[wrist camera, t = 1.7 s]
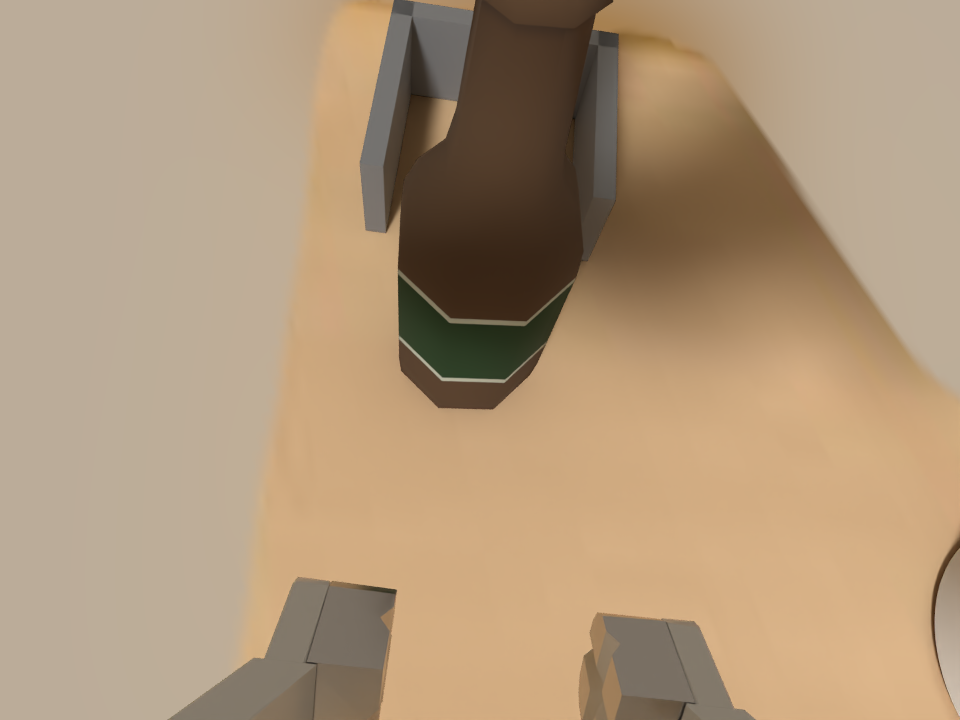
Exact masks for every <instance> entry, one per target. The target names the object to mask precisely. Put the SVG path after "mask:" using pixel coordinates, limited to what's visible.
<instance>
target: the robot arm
mask: <svg viewBox="0 0 960 720" xmlns="http://www.w3.org/2000/svg"><path fill="white" fill-rule="evenodd" d="M396 593H397V590H395V589H388V588H380V587H373V586H366V585H358V584H351V583H344V582H336V581H332V582H330V581H325V580H317V579H310V578H302V577H298V578H297V579H296V580H295V581H294V583H293V584H292V587H291V590H290V592H289V595H288V597H287V600H286V603H285V605H284V608H283V611H282V613H281V616H280V618H279V621H278V624H277V626H276V629H275V632H274V634H273V637H272V639H271V642H270V645H269V647H268V650H267V653H266V655H265V658H264V659H260V658H253V659H252V660H250V661H249V662H247V663H246V664H245V665H243V666H242V667H240V668H239V669H238V670H236V671H235V672H233V673H232V674H231V675H229V676H228V677H227V678H225V679H224V680H222V681H221V682H220V683H218V684H217V685H215V686H214V687H213V688H211V689H210V690H209V691H207V692H206V693H204V694H203V695H202V696H200V697H199V698H197V699H196V700H195V701H193V702H192V703H190V704H189V705H188V706H186V707H185V708H184V709H182V710H181V711H179V712H178V713H177V714H175V715H174V716H172V717H171V718H170V719H168V720H379V718H380V710H381V703H382V701H383V694H384V687H385V680H386V673H387V667H388V659H389V652H390V644H391V637H392V635H391V632H392V625H393V619H394V612H395V602H396ZM590 637H591V642H592V647H593V649H592V650H590V651H589V652H588V653H587V654H586V655H584V657H583V662H582V666H581V671H580V679H579V708H580V715H581V720H755V719H754V718H753V717H752V716H751V715H750V714H748V713H747V712H746V711H745V710H742V709H734V706H733V704H732V702H731V699H730V697H729V695H728V692H727V690H726V688H725V686H724V683H723V681H722V679H721V676H720V674H719V672H718V669H717V667H716V665H715V662H714V660H713V658H712V655H711V653H710V651H709V648H708V646H707V644H706V641H705V639H704V637H703V634H702V632H701V630H700V627H699V626H698V625H697V624H696V623H695V622H694V621H684V620H673V619H661V620H660V619H655V618H645V617H636V616H626V615H617V614H607V613H598V612H597V614H596V616H595V617H594V619H593V622H592V626H591V630H590ZM935 639H936V647H937V653H938V658H939V663H940V667H941V671H942V675H943V678H944V681H945V684H946V687H947V690H948V692H949V695H950V697H951V700H952V702H953V704H954V707H955V709H956V711H957V713H958V715H959V717H960V548H959V549H958V551H957V552H956V553H955V554H954V556H953V557H952V559H951V560H950V562H949V564H948V566H947V568H946V570H945V572H944V574H943V577H942V579H941V583H940V586H939V590H938V594H937V600H936V607H935Z"/></svg>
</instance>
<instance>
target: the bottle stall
mask: <svg viewBox="0 0 960 720" xmlns="http://www.w3.org/2000/svg"><path fill="white" fill-rule="evenodd" d="M473 12H474V11H470V10H464V9H458V8H451V7H445V6H439V5H432V4H426V3H420V2H413V1H407V0H394V3H393V8H392V13H391V17H390V22H389V27H388V32H387V36H386V41H385V46H384V51H383V55H382V60H381V65H380V70H379V74H378V79H377V84H376V89H375V93H374V98H373V103H372V108H371V112H370V117H369V122H368V127H367V131H366V136H365V141H364V146H363V150H362V155H361V160H360V172H361V183H362V194H363V206H364V217H365V228H366V230H367V231H375V232H382V233H386V230H387V224H388V219H389V213H390V208H391V202H392V197H393V191H394V185H395V180H396V174H397V169H398V163H399V158H400V152H401V147H402V141H403V136H404V130H405V125H406V119H407V114H408V108H409V103H410V97H411V94H413V95H420V96H426V97H433V98H440V99H446V100H453V101H458V96H459V91H460V85H461V79H462V74H463V68H464V62H465V57H466V51H467V46H468V40H469V34H470V29H471V23H472V18H473ZM618 36H619V34H616V33H610V32H604V31H597V30H592V33H591V38H590V42H589V46H588V51H587V55H586V60H585V64H584V69H583V73H582V77H581V82H580V86H579V91H578V95H577V100H576V104H575V108H574V113H573V117H572V118H573V119H575V128H574V148H573V165H574V167H575V168H576V175H577V182H578V189H579V200H580V212H581V225H582V238H583V250H584V252H583V255H582V259H581V260H584V261H588V259H589V257H590V255H591V253H592V250H593V248H594V246H595V244H596V242H597V240H598V237H599V235H600V233H601V231H602V229H603V227H604V225H605V222H606V220H607V218H608V216H609V214H610V212H611V209H612V207H613V205H614V203H615V201H616V157H617V97H618Z"/></svg>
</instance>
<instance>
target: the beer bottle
mask: <svg viewBox="0 0 960 720" xmlns="http://www.w3.org/2000/svg"><path fill="white" fill-rule="evenodd" d="M612 2H613V0H476V1H475V6H474V12H473V18H472V23H471V29H470V34H469V40H468V46H467V51H466V57H465V62H464V68H463V74H462V79H461V85H460V91H459V96H458V102H457V107H456V111H455V114H454V117H453V119H452V122H451V125H450V128H449V131H448V134H447V137H446V139H444V140H443V141H441V142H440V143H438V144H437V145H436V146H434V147H433V148H431V149H430V150H429V151H427V152H426V153H424V154H423V155H422V156H420V157H419V158H418V159H417V160H416V162H415V163H414V165H413V166H412V168H411V170H410V171H409V173H408V174H407V176H406V178H405V179H404V184H403V193H402V202H401V215H400V236H399V257H398V308H399V360H400V366H401V371H402V372H403V373H404V374H405V375H406V376H407V377H408V378H409V379H410V380H411V381H412V382H413V383H414V384H415V385H416V386H417V387H418V388H419V389H420V390H421V391H422V392H423V393H424V394H425V395H426V396H427V397H428V398H429V399H430V400H431V401H432V402H433V403H434V404H435V405H436V406H437V407H438V408H462V409H494V408H495V407H496V406H497V405H498V404H499V403H500V402H502V401H503V400H504V399H505V398H506V397H507V396H508V395H509V394H510V393H511V392H512V391H513V390H514V389H515V388H516V387H518V386H519V385H520V384H521V383H522V382H523V381H524V380H525V379H526V378H527V377H528V376H529V375H530V374H531V372H532V371H533V369H534V367H535V366H536V364H537V363H538V360H539V358H540V356H541V354H542V351H543V349H544V347H545V345H546V343H547V340H548V338H549V336H550V334H551V332H552V329H553V327H554V325H555V323H556V320H557V318H558V316H559V314H560V312H561V309H562V307H563V305H564V303H565V301H566V298H567V296H568V294H569V292H570V290H571V287H572V285H573V283H574V281H575V278H576V276H577V272H578V269H579V266H580V262H581V259H582V255H583V252H584V250H583V238H582V225H581V212H580V200H579V189H578V182H577V175H576V168H575V167H574V165H573V164H572V163H571V161H570V160H569V158H568V157H567V156H566V154H565V148H566V144H567V139H568V135H569V131H570V126H571V122H572V117H573V113H574V108H575V104H576V100H577V95H578V91H579V86H580V82H581V77H582V73H583V69H584V64H585V60H586V55H587V51H588V46H589V42H590V38H591V33H592V29H593V24H594V19H595V15H596V13H598V12H599V11H600V10H602V9H603V8H605V7H606V6H608V5H609V4H611V3H612Z"/></svg>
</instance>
